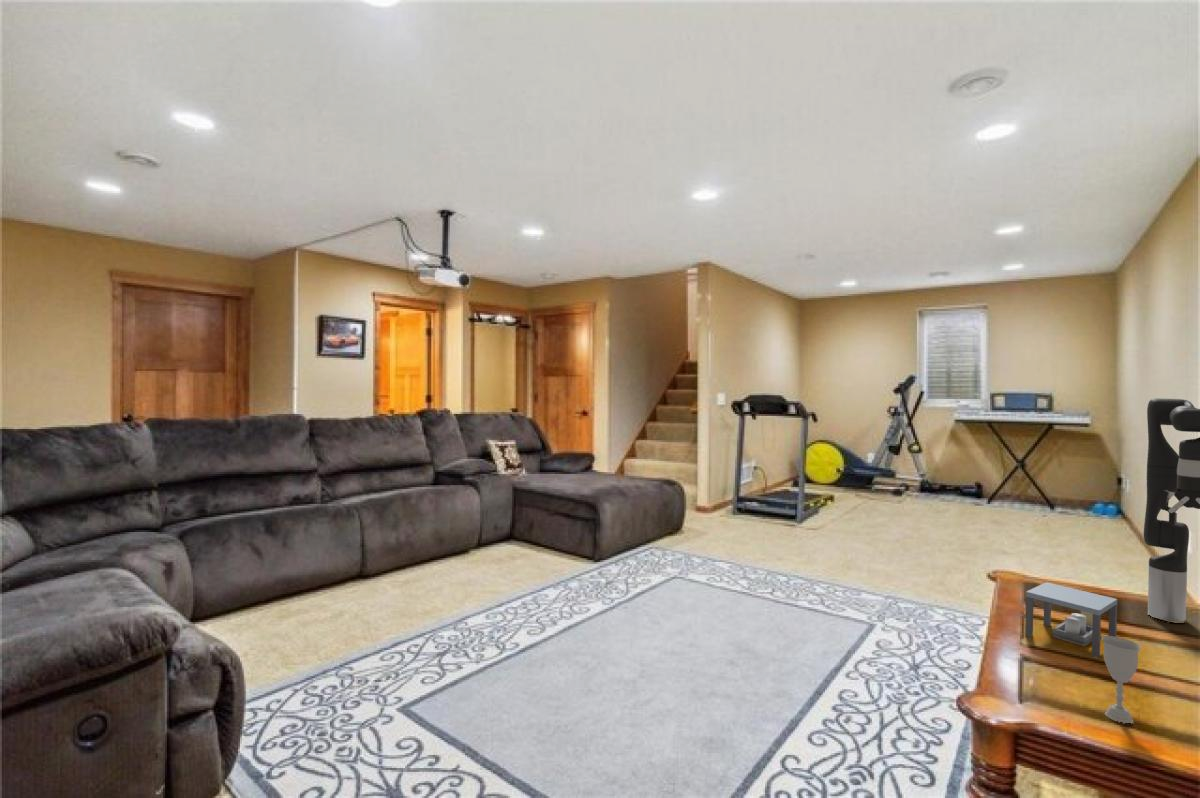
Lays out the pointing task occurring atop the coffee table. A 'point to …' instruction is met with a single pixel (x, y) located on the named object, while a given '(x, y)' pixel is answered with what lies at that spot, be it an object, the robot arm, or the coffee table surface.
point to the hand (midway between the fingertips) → (1193, 527)
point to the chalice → (1120, 671)
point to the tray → (1071, 636)
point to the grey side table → (1075, 601)
